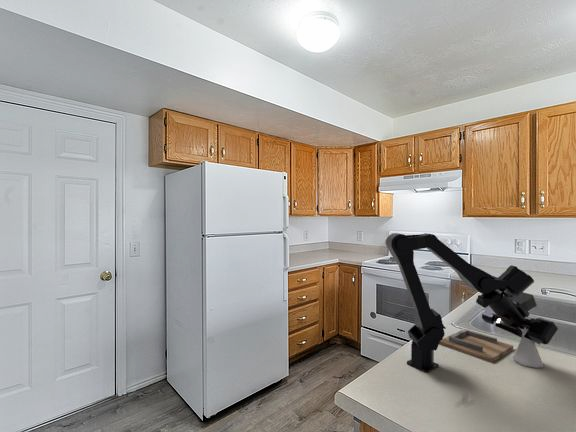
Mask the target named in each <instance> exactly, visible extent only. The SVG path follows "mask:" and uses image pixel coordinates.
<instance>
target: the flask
mask: <svg viewBox="0 0 576 432" xmlns="http://www.w3.org/2000/svg"><path fill="white" fill-rule="evenodd" d="M521 330H522V329H521ZM526 332H527V330H526V327H525V329H524V330H522V337H520V340H519V343H518V345H517V348H516V349H515V351H514V353H513V355H512V359H513V361H514V362H516V363H518V364H519V365H522V366H525V367H529V368H535V369H537V368H539V369H540V368H545V365H544V363H543V360H542V358H541V355H540V353H539V351H538V348H537V346H536V343H535V342H533V341H531V340H529V339H527V338H525V337H524V335H525V334H526Z"/></svg>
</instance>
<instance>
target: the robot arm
mask: <svg viewBox="0 0 576 432" xmlns="http://www.w3.org/2000/svg"><path fill="white" fill-rule="evenodd" d="M385 245H386V248H387V249H388V251H389V253H390V255H391V256H392V258H393V259H394V261H395V262H396V264H397V265H398V267H399V271H400V273H401V276H402V279H403V281H404V284H405V286H406V287H405V288H406V290H407V292H408V296H409V299H410V301H411V304H412V307H413V310H414V311H413V319H414V325H412V327H410V328H409V329H408V330H407V334H408V336H409V337H408V338H410V339H411V344H410V345H411V348H410V349H411V350H410V353H411V356H410V357H411V358H410V359H409V360H407V361H406V364H407V365H410V366H411V367H412V368H413V367H414V368H416V369H418V370H419V371H423V372H425V373H430V372H431V371H433V370H435V369H436V368H438V367H440V364H439V363H436V362H435V358H434V357H435V352H434V351H437V350H438V348H439V346H440V344H439V342H440V341H441V340H442V339H443V338H445V334H446V333H445V330H446V329H447V327H446V326H445V325H444V323H443V319H442V316H441V314H440V313H439V312H438V311H436V310H434V308H431V307H430V305H429V301H428V299H427V296H426V293H425V290H424V287H423V285H422V282H421V280H420V276H419V274H418V271H417V268H416V266H415V263H414V259H415V258H414V257H415V255H414V254H415V253H414V251H417V250H422V249H423V250H424V249H427V250H428V251H430V253H432V254H433V255H434V256H436V257H437V258H438V259H439V260H441V261H442V262H443V263H445V264H446V265H447V266H448V267H449V268H451V269H452V270H454V272H456V274H457V275H458V276H459V279H460V280H461V281H462V282H463V283H464V284H465V285H466V287H467V288H469V289H471V290H474V291H475V292H478V293H481V294H480V295H477V298H476V300H475V303H476V304H478V305H479V306H481V307H482V308H484V310H483V312H482V313H481V318H482V320H483V321H484V322H485V323H488V324H490V325H494V324H495V327H496V328H499V329H501V330H503V331H505V332H508V333H510V334H512V335H514V336H517V337H519V338H521V337H522V330H524V329H525V327H526V330H527V332H526V334H525V335H524V337H525V338H527V339H529V340H531V341H533V342H535V344H537V345H541V344H543V345H548V344H549V343H550V342H551V341H552V339H553V337H554V336H555V335H556V333H557V331H558V330H559V328H558V325H556V323H555V322H554V321H551V320H549V319H546V318H545V319H544V318H542V317H537V318H530V319H529V316H530V312H529V311H531V310H532V309H534V308H536V307H537V302H536V299H535V297H534V295H533V294H530V293H527V292H525V291H526V290H527V289H528V288H529V287H531V286H532V285H533V284H534V283H535V279H534V278H533V277H532V276H531V275H530V274H528V273H526V272H525V271H523V270H521V269H520V268H518V267H517V266H516V265H513V264H512V265H510V266H509V267H507V268H506V270H505V271H504V272H503V273H501V274H500V275H499V276H498V277H497V276H494V275H492V274H490V273H488V272H486V271H485V270H483V269H481V268H478V267H476V266H475V265H472V264H471V263H469V262H468V261H466V259H464V258H462V257H461V256H460V255H459V254H458V253H456V252H455V251H454V250H453V249H451V247H449V246H447V245H446V244H445V243H444V242H442V241H441V240H440V239H439V238H438V237H437V236H436V235H435V234H433V233H432V234H431V233H422V234H407V235H406V234H404V233H400V232H399V233H397V232H394V233H393V232H392V233H390V234H389V235H388V236H387V238H386V239H385ZM521 329H522V330H521Z"/></svg>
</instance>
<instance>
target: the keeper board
mask: <svg viewBox="0 0 576 432" xmlns="http://www.w3.org/2000/svg"><path fill="white" fill-rule="evenodd" d="M439 346H442V347H446V348H449V349H452V350H454V351H457V352H460V353H462V354H466V355H468V356H471V357H474V358H476V359H479V360H483V361H486V362H488V363H490V364H492V363H494V362H496V361H498V359H500V358H502V357H504V356H505V355H506V354H508V353H510V352H511V351H513V350H514V345H512V344H510V343H506V342H503V341H500V340H498V338H497V337H496V338H495V337H493V336H489V335H486V334H482V333H479V332H476V331H473V330H469V329H466V328H465V329H463V330H462V329H461V330H460V331H457V332H455V333H453V334H451V335H450V334H449V335H448V336H446V337H443V339H442V340H441V341H440V342H439Z"/></svg>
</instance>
